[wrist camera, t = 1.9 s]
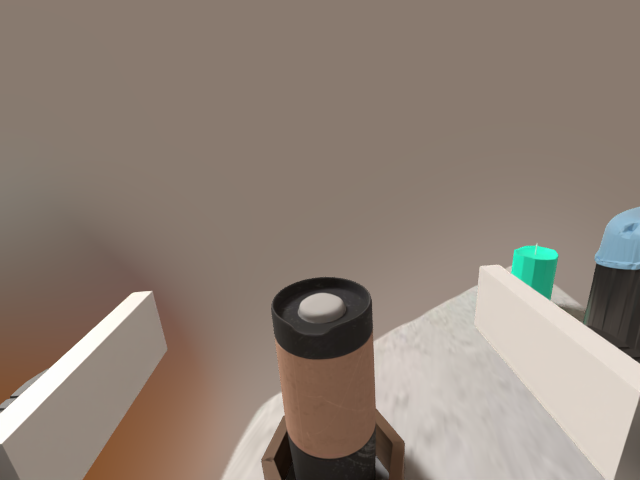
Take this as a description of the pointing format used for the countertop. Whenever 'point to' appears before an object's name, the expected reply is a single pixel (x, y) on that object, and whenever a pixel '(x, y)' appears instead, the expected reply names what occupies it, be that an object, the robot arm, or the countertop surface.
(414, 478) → the countertop surface
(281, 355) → the travel mug
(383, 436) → the walnut collar
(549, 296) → the candle
